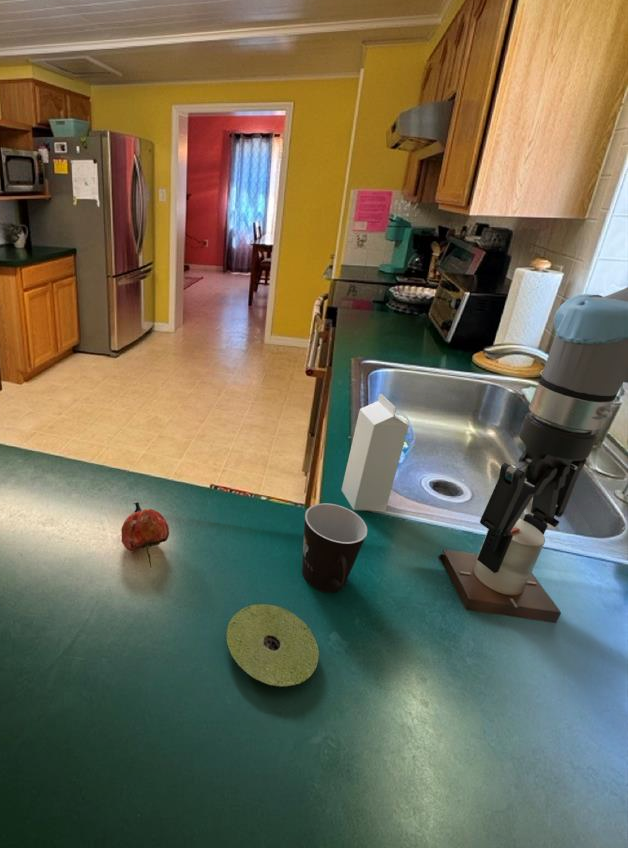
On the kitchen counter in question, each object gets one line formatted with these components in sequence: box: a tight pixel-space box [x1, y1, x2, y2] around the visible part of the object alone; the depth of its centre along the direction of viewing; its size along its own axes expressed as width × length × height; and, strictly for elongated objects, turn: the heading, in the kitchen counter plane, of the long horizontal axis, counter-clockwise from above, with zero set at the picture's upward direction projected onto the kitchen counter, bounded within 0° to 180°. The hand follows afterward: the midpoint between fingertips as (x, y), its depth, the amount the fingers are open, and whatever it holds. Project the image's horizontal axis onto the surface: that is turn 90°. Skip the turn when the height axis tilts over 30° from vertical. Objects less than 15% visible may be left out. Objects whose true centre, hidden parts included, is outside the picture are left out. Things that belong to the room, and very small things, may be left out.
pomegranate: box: [120, 501, 170, 568], centre depth 73 cm, size 7×7×10 cm
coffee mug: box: [301, 502, 368, 593], centre depth 68 cm, size 12×9×10 cm
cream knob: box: [473, 518, 546, 595], centre depth 68 cm, size 6×6×9 cm
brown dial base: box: [439, 548, 562, 624], centre depth 70 cm, size 12×11×2 cm
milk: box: [341, 393, 410, 512], centre depth 83 cm, size 6×6×22 cm
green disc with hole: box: [226, 603, 320, 687], centre depth 58 cm, size 11×11×2 cm
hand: (504, 560), depth 69 cm, fingers closed on cream knob, 6 cm apart
